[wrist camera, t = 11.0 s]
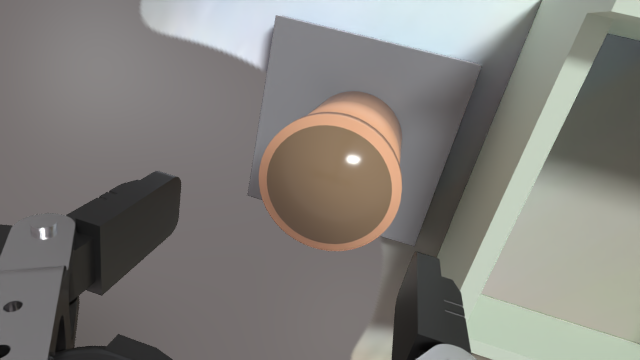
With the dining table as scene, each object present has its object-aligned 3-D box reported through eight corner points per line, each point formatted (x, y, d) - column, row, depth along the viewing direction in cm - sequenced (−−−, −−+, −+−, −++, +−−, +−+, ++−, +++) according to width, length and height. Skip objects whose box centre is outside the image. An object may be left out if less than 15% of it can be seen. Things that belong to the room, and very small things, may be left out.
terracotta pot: (316, 75, 24) (271, 97, 16) (420, 104, 23) (422, 141, 16) (295, 170, 26) (248, 226, 19) (387, 199, 25) (376, 269, 18)
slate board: (283, 16, 24) (275, 15, 23) (477, 63, 23) (482, 65, 21) (255, 187, 29) (247, 195, 28) (414, 235, 28) (414, 246, 26)
